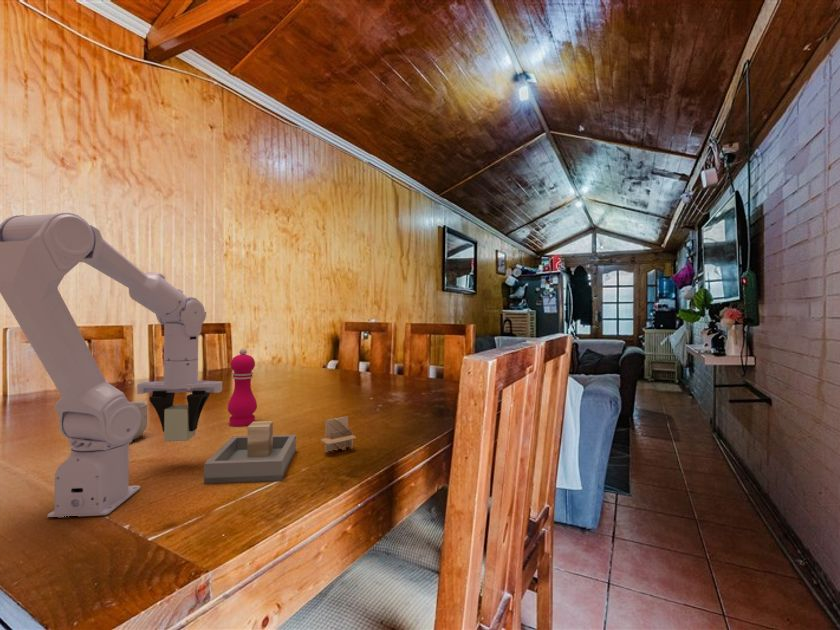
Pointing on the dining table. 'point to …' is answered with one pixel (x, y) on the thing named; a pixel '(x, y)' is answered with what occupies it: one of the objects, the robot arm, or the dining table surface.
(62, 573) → the dining table surface
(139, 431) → the teacup
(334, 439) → the architectural model
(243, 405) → the pepper mill
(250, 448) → the brown metal block
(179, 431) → the sage block
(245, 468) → the tray
